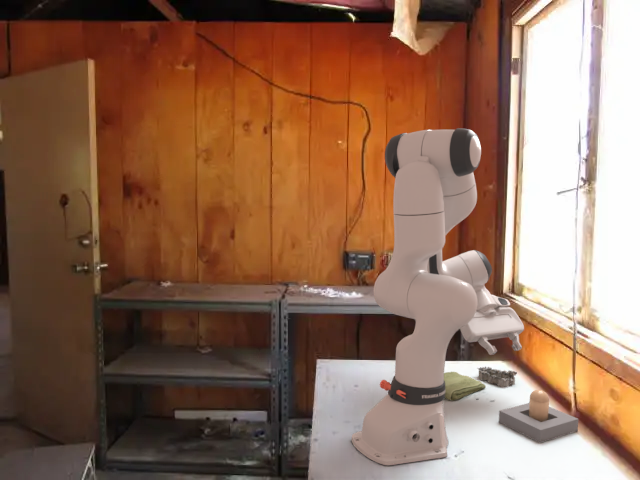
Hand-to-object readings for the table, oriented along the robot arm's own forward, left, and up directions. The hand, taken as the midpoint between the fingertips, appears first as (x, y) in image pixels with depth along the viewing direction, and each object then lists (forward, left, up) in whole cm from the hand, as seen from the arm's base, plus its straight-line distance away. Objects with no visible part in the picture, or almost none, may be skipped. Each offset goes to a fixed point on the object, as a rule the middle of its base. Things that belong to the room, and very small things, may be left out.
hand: (506, 351), depth 131 cm
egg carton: (+16, +17, -17) cm, 29 cm away
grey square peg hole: (0, -11, -16) cm, 19 cm away
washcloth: (-1, +18, -17) cm, 25 cm away
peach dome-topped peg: (0, -11, -15) cm, 18 cm away
